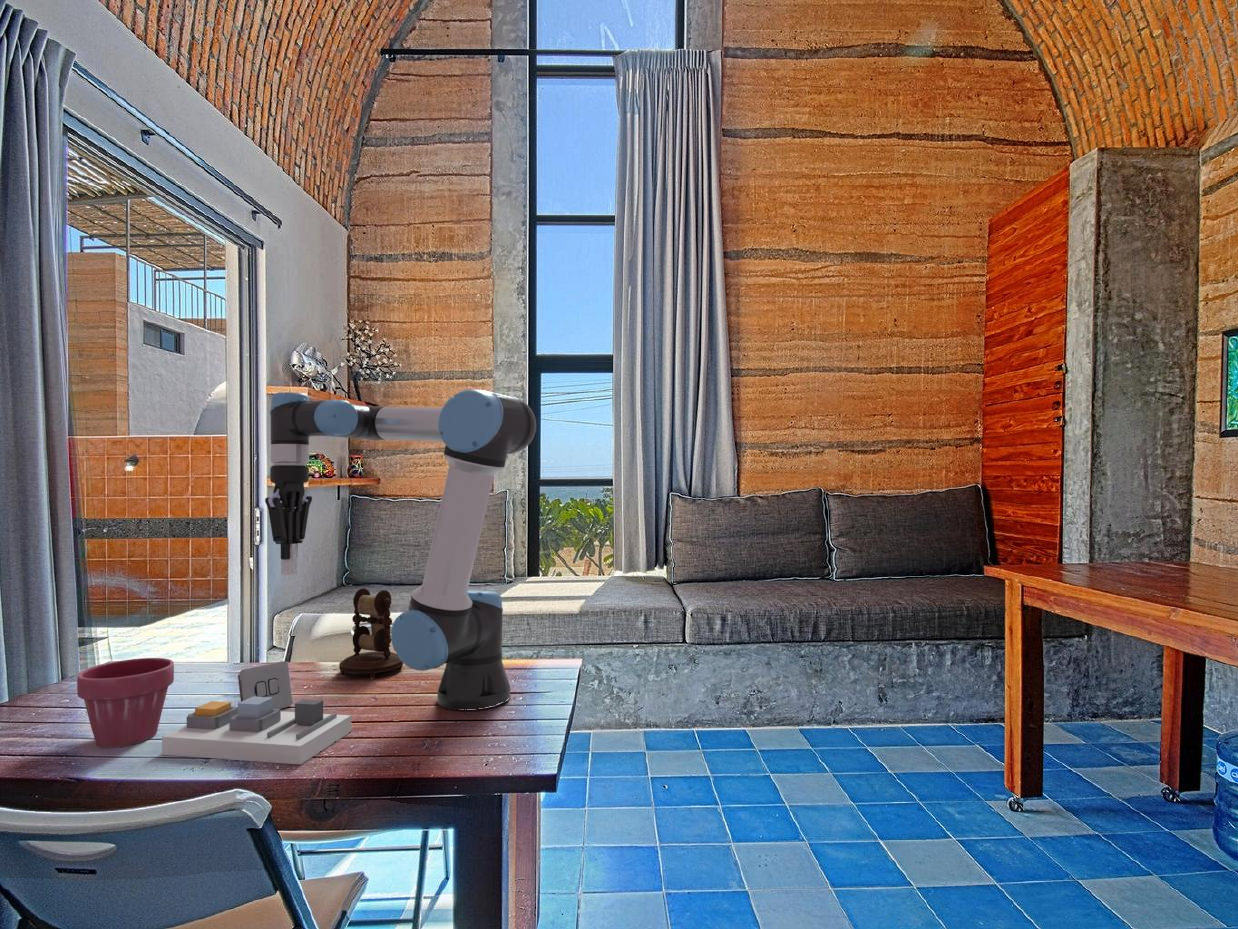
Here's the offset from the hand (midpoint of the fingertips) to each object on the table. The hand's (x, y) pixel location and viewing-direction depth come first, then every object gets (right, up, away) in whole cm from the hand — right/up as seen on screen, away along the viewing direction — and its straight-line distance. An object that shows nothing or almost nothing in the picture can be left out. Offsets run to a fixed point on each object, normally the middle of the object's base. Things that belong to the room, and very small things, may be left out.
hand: (288, 574), depth 149 cm
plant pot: (-18, -26, -24) cm, 40 cm away
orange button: (-2, -22, -24) cm, 33 cm away
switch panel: (+7, -26, -26) cm, 37 cm away
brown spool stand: (+11, -27, +20) cm, 35 cm away
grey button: (+6, -21, -26) cm, 34 cm away
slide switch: (+16, -22, -25) cm, 37 cm away
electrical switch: (-1, -27, -8) cm, 28 cm away
